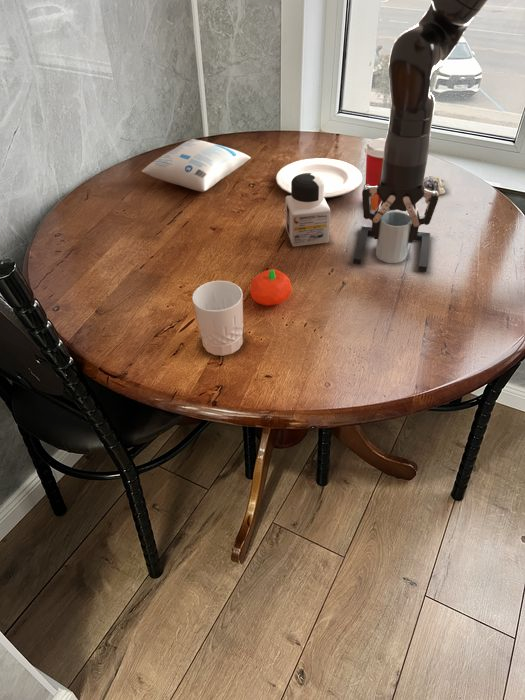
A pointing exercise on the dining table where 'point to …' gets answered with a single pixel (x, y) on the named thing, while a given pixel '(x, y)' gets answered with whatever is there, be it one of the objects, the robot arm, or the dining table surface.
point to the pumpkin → (270, 287)
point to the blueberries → (433, 184)
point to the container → (307, 211)
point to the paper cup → (374, 167)
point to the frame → (420, 237)
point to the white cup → (219, 316)
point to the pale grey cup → (393, 236)
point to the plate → (323, 175)
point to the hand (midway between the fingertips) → (393, 238)
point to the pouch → (196, 164)
